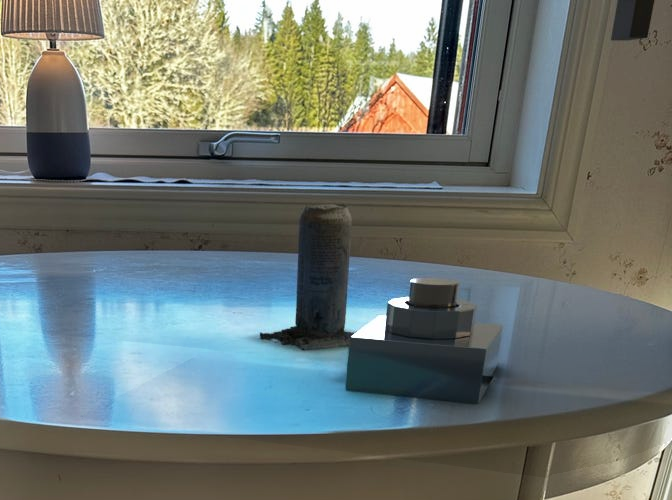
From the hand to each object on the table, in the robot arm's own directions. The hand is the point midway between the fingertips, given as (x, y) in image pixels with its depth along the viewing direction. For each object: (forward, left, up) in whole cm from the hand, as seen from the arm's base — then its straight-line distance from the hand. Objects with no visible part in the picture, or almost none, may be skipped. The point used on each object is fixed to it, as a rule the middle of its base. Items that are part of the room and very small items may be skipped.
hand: (628, 38), depth 74 cm
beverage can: (+21, +7, -24) cm, 33 cm away
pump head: (+10, +16, -18) cm, 27 cm away
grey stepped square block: (+10, +16, -24) cm, 31 cm away
